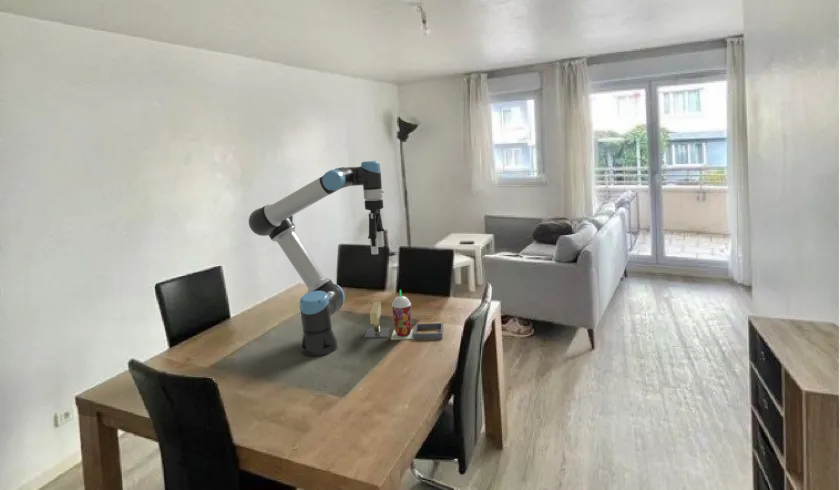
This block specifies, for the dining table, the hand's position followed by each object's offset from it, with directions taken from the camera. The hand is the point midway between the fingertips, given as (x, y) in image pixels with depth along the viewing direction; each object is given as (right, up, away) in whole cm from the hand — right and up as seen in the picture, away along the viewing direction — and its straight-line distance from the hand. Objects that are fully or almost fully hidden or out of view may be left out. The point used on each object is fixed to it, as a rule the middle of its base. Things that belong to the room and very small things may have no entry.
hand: (377, 250), depth 206 cm
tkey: (-1, -36, +13) cm, 38 cm away
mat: (+10, -37, +10) cm, 40 cm away
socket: (+21, -36, +9) cm, 43 cm away
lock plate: (-1, -37, +13) cm, 39 cm away
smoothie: (+10, -37, +10) cm, 39 cm away
